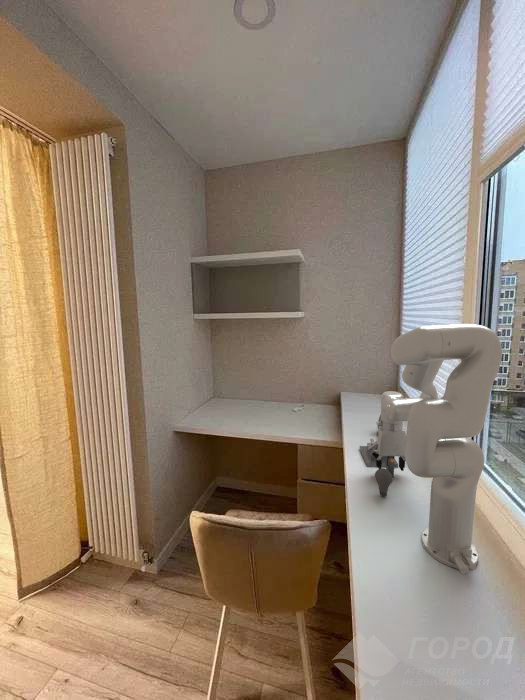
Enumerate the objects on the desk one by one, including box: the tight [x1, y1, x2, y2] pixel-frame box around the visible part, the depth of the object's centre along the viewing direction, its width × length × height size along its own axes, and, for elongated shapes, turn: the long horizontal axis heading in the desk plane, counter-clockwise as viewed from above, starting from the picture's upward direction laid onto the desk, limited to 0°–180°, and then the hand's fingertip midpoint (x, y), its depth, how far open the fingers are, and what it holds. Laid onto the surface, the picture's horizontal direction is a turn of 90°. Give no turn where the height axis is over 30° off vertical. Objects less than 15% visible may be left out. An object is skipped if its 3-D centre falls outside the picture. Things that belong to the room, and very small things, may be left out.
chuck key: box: [385, 456, 396, 479], centre depth 106 cm, size 7×3×9 cm, turn 173°
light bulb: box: [374, 467, 394, 498], centre depth 95 cm, size 6×6×10 cm
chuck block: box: [359, 438, 399, 468], centre depth 120 cm, size 16×12×5 cm
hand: (390, 468), depth 106 cm, fingers open, 7 cm apart
